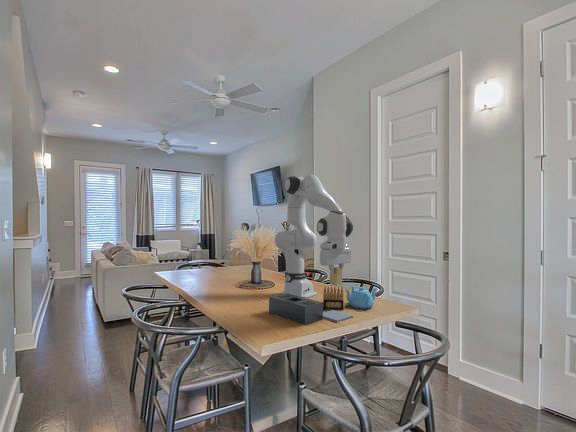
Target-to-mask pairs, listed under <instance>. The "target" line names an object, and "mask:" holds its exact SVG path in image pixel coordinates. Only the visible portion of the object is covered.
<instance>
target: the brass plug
mask: <svg viewBox="0 0 576 432" xmlns="http://www.w3.org/2000/svg"><path fill="white" fill-rule="evenodd" d="M333 269H334V270H335V274H330V273H329V285H332V286H335V287H336V286H337V287H338V286H341V285H342V284H343V281H342V280H343V269H342V268H341V267H339V266H334V267H333Z"/></svg>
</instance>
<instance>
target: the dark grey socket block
mask: <svg viewBox="0 0 576 432" xmlns="http://www.w3.org/2000/svg"><path fill="white" fill-rule="evenodd" d="M323 313H324V310H323V301H319V300H315V299H311V298H309V297H308V298H304V297H300V296H296V295H292V294H288V293H285V294H283V293H281V294H276V295H270V296H269V297H268V314H271V315H273V316H276V317H279V318H282V319H285V320H288V321H291V322H294V323H297V324H300V325H301V326H308V325H311V324H314V323H317V322H320V321H323V320H324V318H323Z"/></svg>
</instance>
